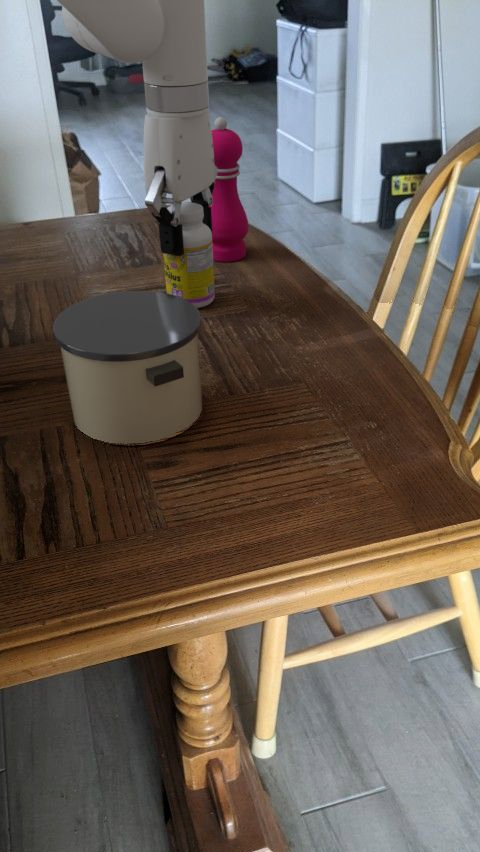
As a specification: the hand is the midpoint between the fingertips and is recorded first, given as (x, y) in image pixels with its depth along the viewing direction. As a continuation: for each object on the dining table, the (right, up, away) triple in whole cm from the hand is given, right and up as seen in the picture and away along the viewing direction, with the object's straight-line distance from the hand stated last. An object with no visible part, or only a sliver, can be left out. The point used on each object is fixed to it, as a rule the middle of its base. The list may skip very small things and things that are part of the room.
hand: (187, 243), depth 104 cm
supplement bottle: (0, -7, +5) cm, 8 cm away
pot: (-3, -24, -18) cm, 30 cm away
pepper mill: (+4, +4, +19) cm, 20 cm away
